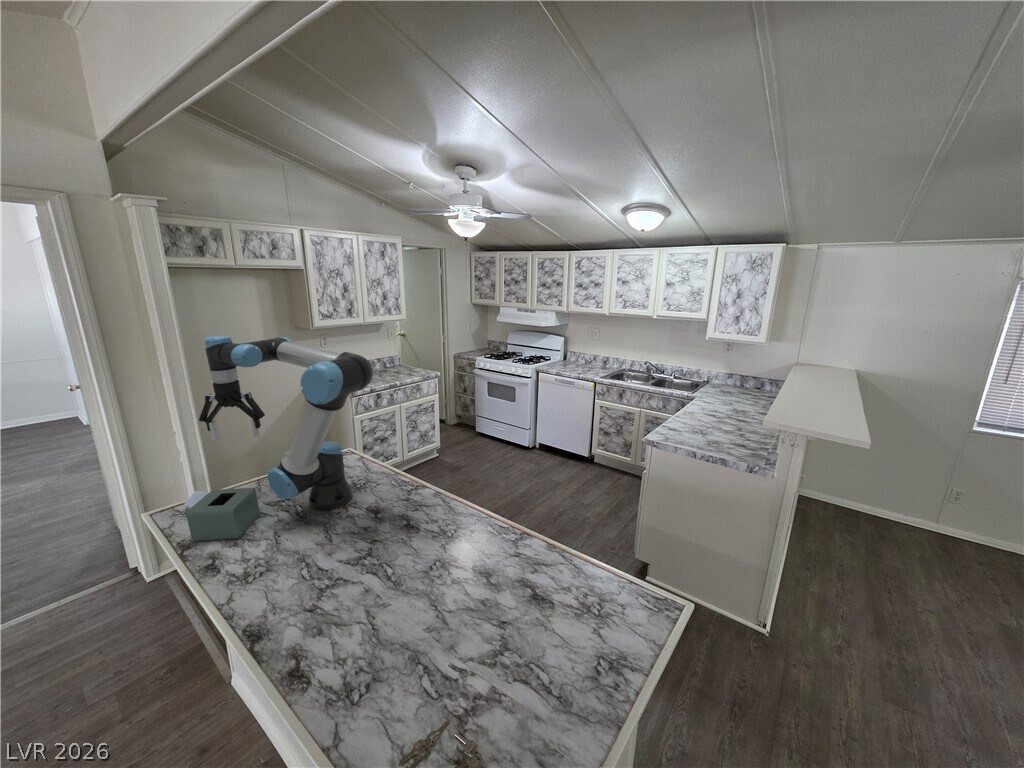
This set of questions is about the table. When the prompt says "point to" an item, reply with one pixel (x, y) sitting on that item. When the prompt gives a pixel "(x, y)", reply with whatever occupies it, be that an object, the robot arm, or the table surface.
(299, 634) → the table surface
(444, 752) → the table surface
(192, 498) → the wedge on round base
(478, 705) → the table surface
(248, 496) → the coin box
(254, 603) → the table surface
